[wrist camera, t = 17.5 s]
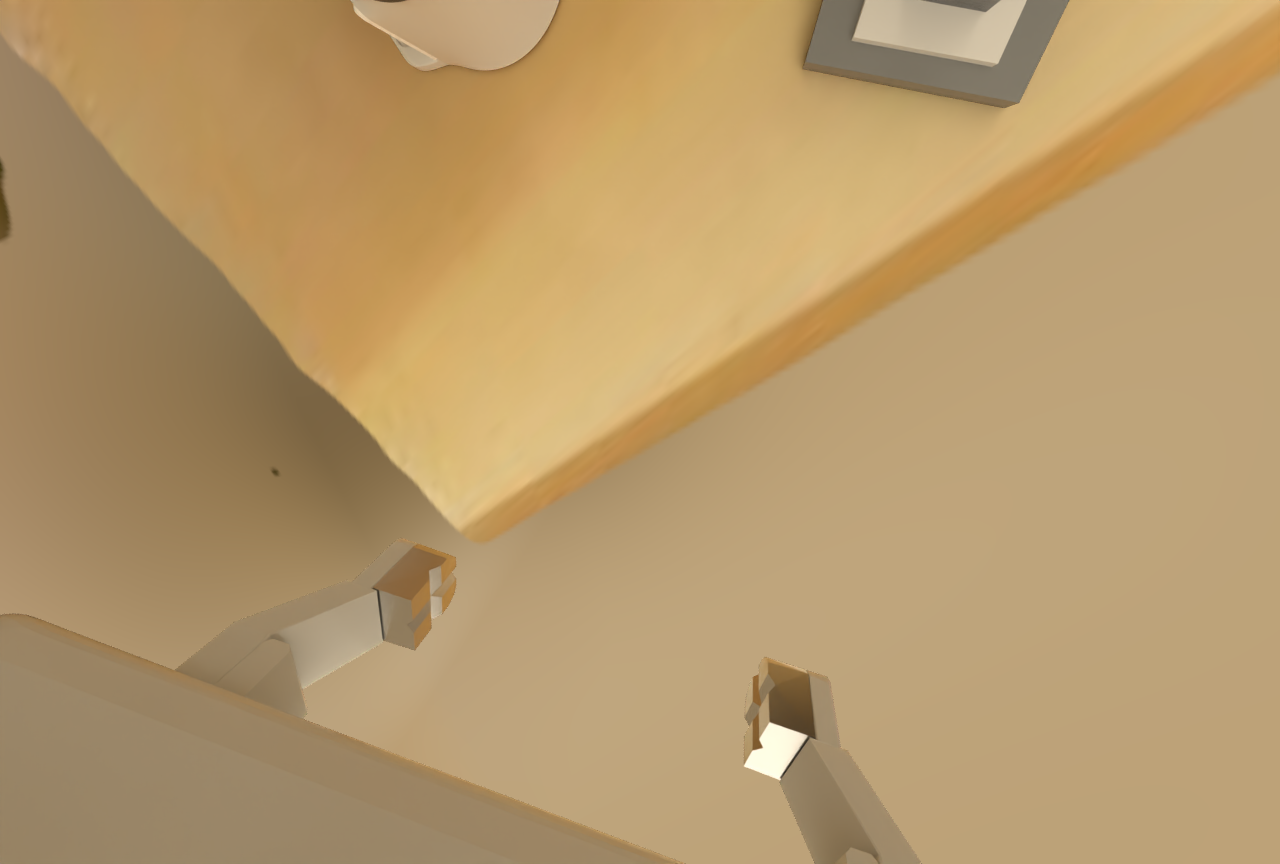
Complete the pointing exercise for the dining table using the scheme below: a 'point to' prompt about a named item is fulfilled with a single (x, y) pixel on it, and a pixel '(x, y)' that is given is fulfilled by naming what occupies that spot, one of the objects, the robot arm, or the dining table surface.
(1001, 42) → the press
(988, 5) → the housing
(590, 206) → the dining table surface
